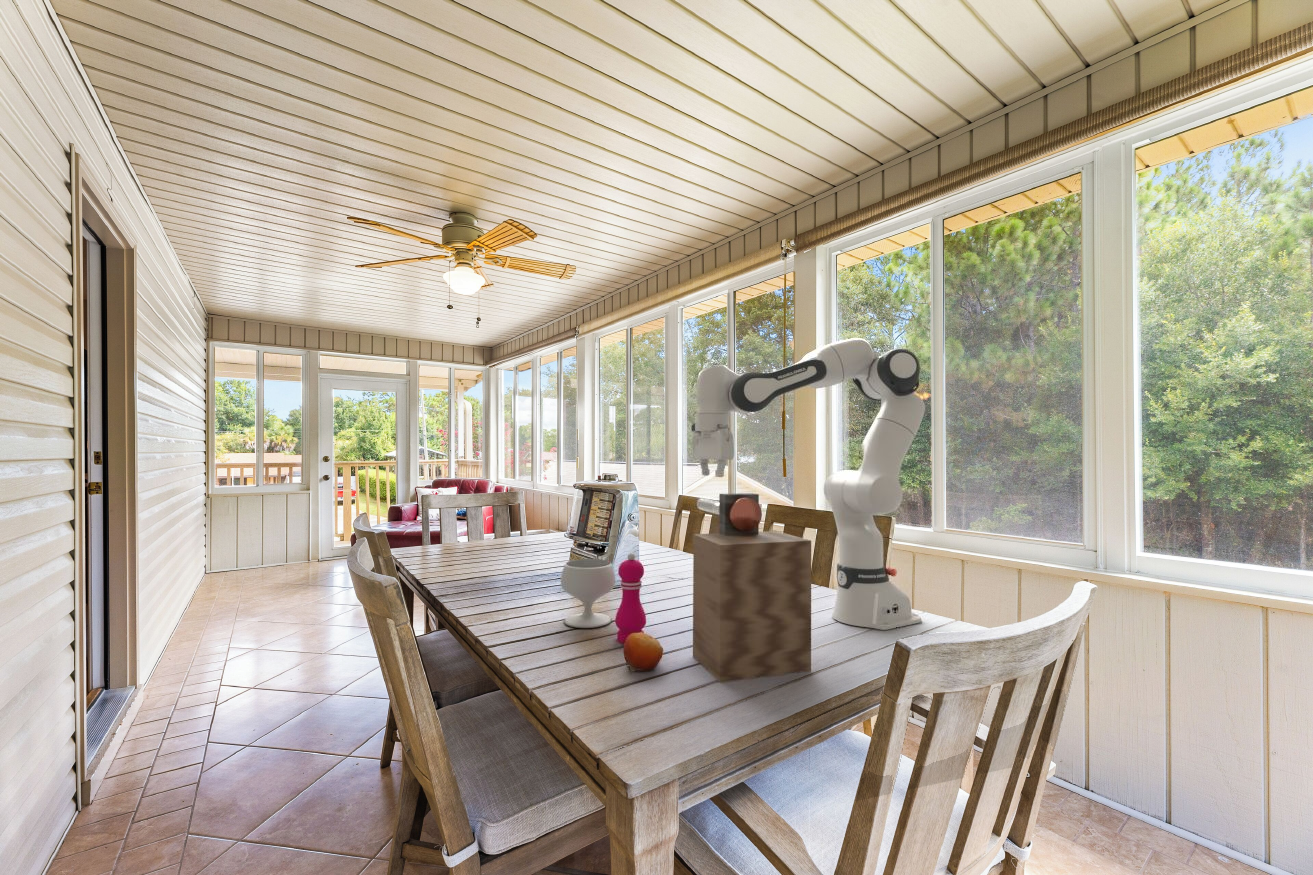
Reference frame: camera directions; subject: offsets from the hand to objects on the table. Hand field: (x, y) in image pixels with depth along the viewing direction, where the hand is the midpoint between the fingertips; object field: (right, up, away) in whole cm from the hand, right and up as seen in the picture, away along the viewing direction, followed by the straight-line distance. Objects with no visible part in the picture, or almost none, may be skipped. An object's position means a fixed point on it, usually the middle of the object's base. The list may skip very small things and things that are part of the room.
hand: (712, 476), depth 151 cm
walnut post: (+4, -36, -35) cm, 51 cm away
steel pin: (0, -10, -21) cm, 23 cm away
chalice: (-33, -37, -8) cm, 50 cm away
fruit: (-18, -36, -38) cm, 56 cm away
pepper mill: (-21, -37, -21) cm, 47 cm away
